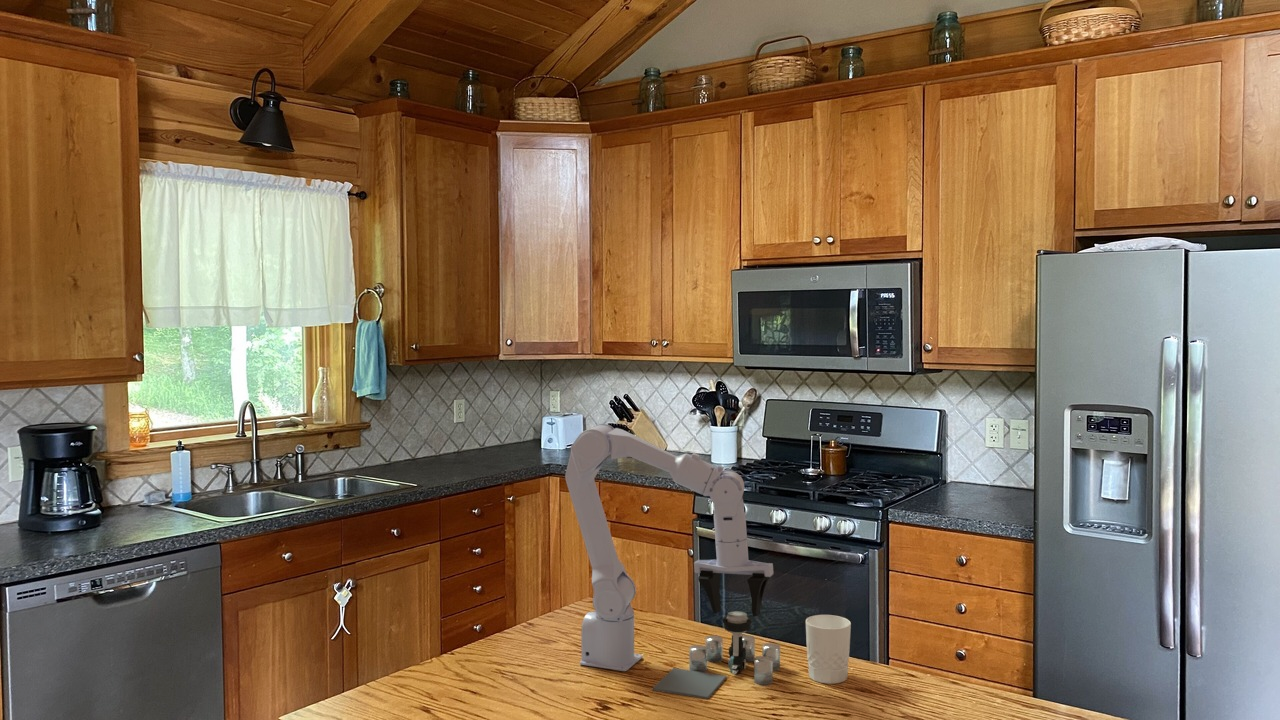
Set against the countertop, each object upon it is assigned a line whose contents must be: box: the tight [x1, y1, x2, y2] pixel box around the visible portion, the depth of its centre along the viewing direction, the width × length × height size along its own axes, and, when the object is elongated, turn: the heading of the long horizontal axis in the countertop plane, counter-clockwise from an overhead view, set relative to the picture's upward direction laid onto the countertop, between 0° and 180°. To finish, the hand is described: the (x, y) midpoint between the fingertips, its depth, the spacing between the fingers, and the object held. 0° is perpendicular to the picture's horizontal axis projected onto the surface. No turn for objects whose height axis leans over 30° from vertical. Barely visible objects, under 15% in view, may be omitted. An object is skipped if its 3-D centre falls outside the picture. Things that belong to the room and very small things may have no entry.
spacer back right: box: [761, 642, 781, 672], centre depth 174 cm, size 3×3×4 cm
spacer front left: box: [688, 644, 708, 673], centre depth 173 cm, size 3×3×4 cm
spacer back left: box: [704, 635, 724, 664], centre depth 178 cm, size 3×3×4 cm
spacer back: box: [742, 634, 756, 663], centre depth 178 cm, size 3×3×4 cm
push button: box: [721, 610, 753, 675], centre depth 173 cm, size 7×5×10 cm
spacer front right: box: [753, 655, 774, 686], centre depth 167 cm, size 3×3×4 cm
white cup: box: [805, 614, 852, 685], centre depth 169 cm, size 8×8×10 cm
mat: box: [652, 667, 727, 700], centre depth 166 cm, size 10×10×1 cm
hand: (736, 613), depth 172 cm, fingers open, 7 cm apart
